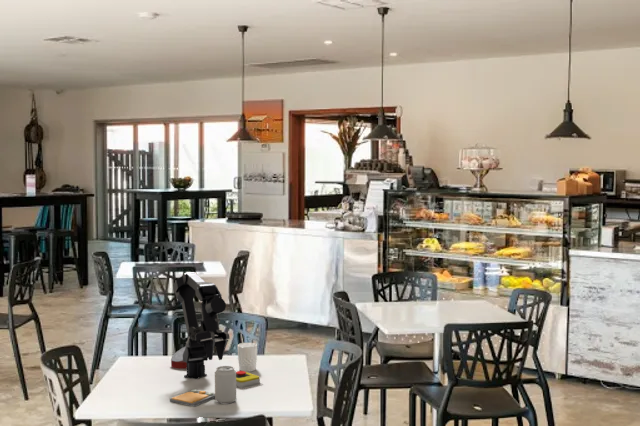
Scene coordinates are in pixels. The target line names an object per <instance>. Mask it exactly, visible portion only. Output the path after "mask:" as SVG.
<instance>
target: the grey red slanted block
mask: <svg viewBox="0 0 640 426" xmlns="http://www.w3.org/2000/svg"><path fill="white" fill-rule="evenodd" d="M185 348H186V347H185V346H183V347H181V348H180V349H179V350H177V351H176V352H175V353H173V354H172V356H171V359H170V361H171V362H170V365H171V367H170V368H173V369H180V370H182V369H186V370H187V363H186V362H184V361H183V353H184V351H185Z"/></svg>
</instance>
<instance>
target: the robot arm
mask: <svg viewBox="0 0 640 426" xmlns="http://www.w3.org/2000/svg"><path fill="white" fill-rule="evenodd" d="M172 290H173V292H174V293H175V298H176V299H177V300H178V301H179V302H180V303H181V307H182V312H183V317H184V323H185V327H186V334H187V339H186V342H185V346H184V347H186V348H185V351H184V353H183V361H184V362H186V363H187V368H186V374H184V375H183V376H184V378H189V379H195V380H197V379H198V380H199V379H200V378H203V377H206V376H208V375H207V373H206V369H205V368H206V367H205V365H206V364H205V361H212V360H213V357H214V352H215V351H216V354H217V357H218V358H217V359H218V360H219V361H222V360H223V357H224V354H225V350H226V348H227V345H228V342H229V340H230V339H231V338H230V334H229V333H228V332H227V331H223V330H222V329H220V322H221V319H220V318H219V315H220V314H221V313H223V312H224V311H225V310H226V308H227V304H226V302H225V300H224V299H223V298H222V296H223V295H222V293H221V291H220V290H219V289H218V286H216V284H215V283H213V282H207V281H205V280H204V279H203V278H201V277H200V276H199V275H198V273H197V272H195V271H189V272H184V273H182V275H181V276H180V277H178V278H177V279H176V280H175V281H174V283H173V289H172ZM195 297H196V298H197V299H198V300H199V301H200V303H201V304H200V305H199V307H200V309H201V319H202V320H200V324H199V321H198V318H197V314H196V313H197V312H196V307H195V302H194V298H195ZM218 314H219V315H218ZM214 350H215V351H214Z"/></svg>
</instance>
